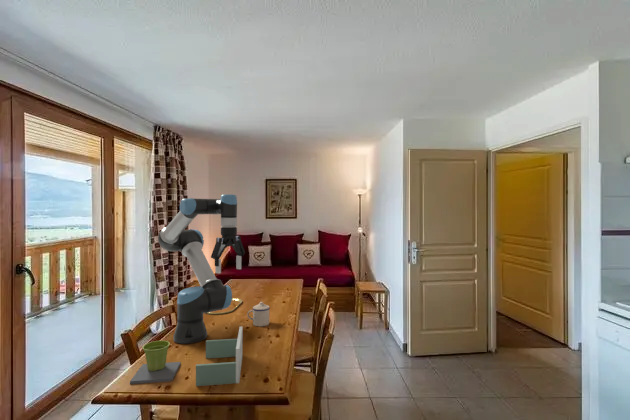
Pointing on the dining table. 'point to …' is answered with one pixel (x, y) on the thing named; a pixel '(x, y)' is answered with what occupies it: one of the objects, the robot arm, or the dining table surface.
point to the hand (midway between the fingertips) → (228, 271)
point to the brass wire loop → (231, 310)
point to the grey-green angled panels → (221, 371)
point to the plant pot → (156, 354)
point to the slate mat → (156, 374)
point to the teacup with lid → (260, 314)
